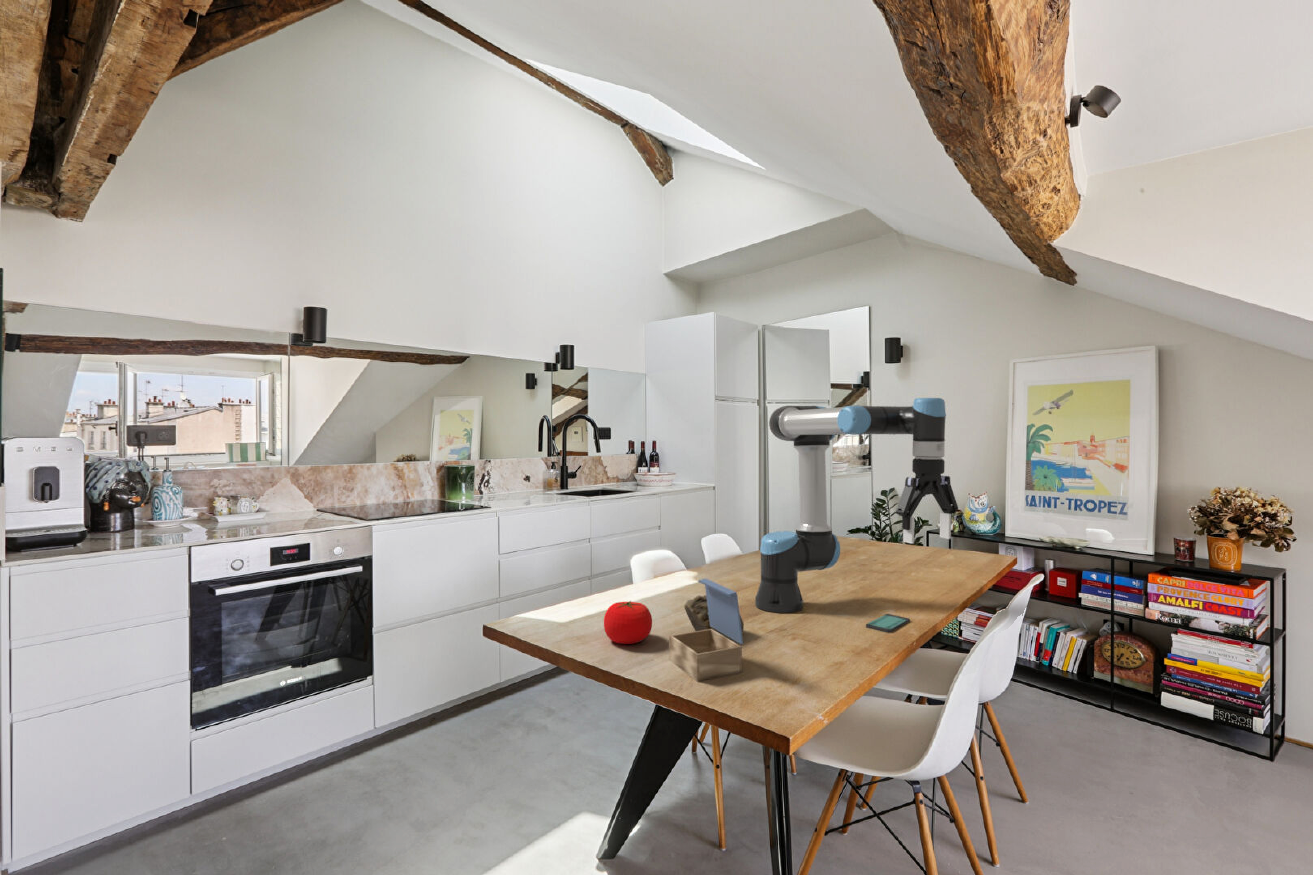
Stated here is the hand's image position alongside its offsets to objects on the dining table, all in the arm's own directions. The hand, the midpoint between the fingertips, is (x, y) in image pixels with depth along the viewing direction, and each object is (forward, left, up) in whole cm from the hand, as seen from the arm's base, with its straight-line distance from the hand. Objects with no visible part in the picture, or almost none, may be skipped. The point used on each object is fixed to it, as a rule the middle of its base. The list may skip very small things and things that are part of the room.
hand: (927, 540), depth 154 cm
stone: (-32, -44, -29) cm, 61 cm away
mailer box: (-15, -57, -28) cm, 66 cm away
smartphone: (-19, +7, -29) cm, 36 cm away
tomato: (-39, -67, -29) cm, 83 cm away
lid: (-15, -54, -16) cm, 58 cm away
